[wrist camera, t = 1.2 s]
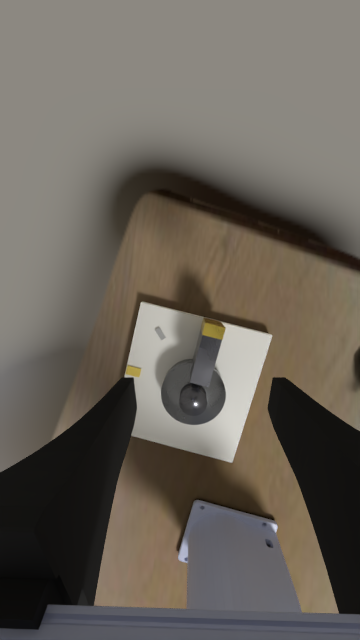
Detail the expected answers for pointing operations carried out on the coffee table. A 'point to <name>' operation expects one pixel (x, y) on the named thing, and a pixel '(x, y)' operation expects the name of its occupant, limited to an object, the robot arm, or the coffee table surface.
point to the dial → (197, 380)
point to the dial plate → (179, 344)
